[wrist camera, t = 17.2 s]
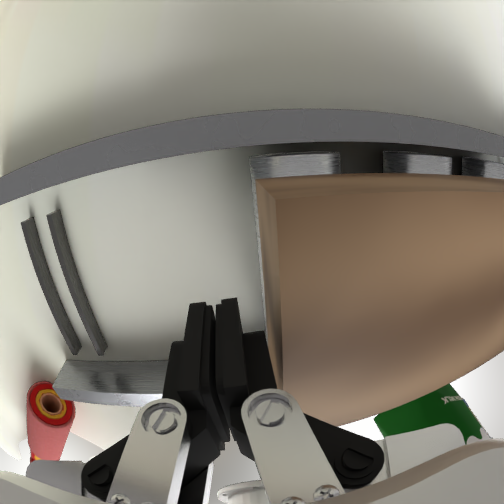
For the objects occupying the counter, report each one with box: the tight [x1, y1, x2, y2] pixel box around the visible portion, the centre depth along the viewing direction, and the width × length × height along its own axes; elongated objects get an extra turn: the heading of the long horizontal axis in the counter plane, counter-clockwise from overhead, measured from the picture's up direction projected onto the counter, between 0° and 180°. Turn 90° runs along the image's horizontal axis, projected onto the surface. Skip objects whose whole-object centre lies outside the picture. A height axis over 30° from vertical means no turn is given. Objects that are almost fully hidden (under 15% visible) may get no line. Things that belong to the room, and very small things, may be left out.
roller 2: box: [383, 151, 452, 175], centre depth 14 cm, size 12×4×4 cm, turn 6°
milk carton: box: [374, 384, 490, 445], centre depth 15 cm, size 9×9×20 cm
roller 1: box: [249, 151, 341, 350], centre depth 14 cm, size 12×4×4 cm, turn 6°
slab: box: [255, 173, 504, 427], centre depth 10 cm, size 10×19×4 cm, turn 95°
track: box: [0, 109, 504, 407], centre depth 14 cm, size 17×51×5 cm, turn 96°
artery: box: [27, 381, 75, 463], centre depth 21 cm, size 42×5×5 cm, turn 144°
